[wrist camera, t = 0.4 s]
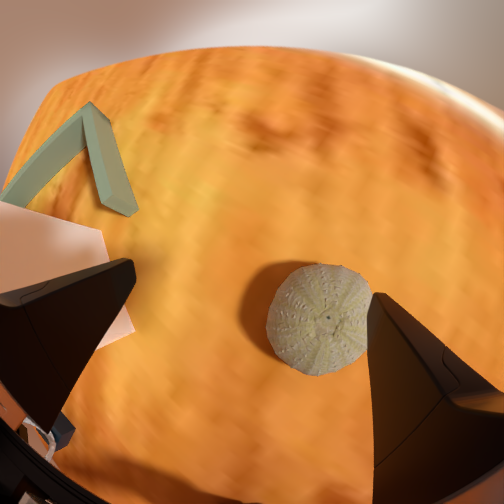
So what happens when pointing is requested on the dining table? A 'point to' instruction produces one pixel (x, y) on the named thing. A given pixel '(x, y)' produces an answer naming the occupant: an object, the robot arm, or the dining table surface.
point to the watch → (56, 434)
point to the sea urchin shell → (320, 318)
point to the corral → (67, 147)
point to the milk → (50, 255)
